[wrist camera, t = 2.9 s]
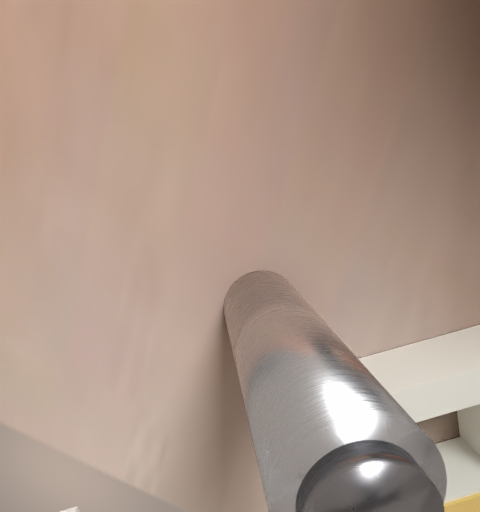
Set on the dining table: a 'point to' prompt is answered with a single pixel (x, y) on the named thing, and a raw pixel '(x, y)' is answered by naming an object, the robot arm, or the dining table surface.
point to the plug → (322, 412)
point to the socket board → (441, 401)
